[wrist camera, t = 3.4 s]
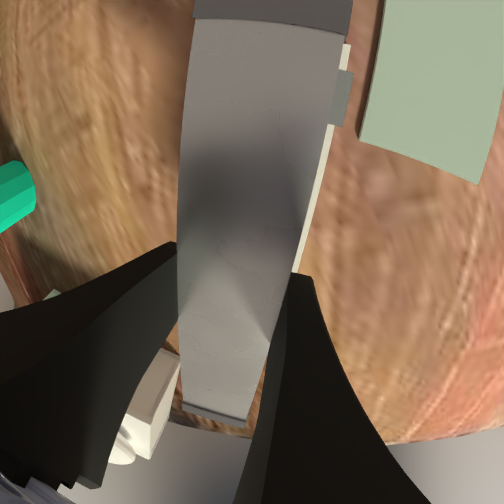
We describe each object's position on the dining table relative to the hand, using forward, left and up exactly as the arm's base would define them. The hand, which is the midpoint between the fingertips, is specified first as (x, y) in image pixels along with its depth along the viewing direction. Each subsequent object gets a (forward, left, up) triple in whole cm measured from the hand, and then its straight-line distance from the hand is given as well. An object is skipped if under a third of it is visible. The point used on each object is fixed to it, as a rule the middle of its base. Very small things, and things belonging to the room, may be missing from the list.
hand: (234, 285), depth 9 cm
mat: (-8, -12, -10) cm, 17 cm away
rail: (0, 0, -2) cm, 2 cm away
